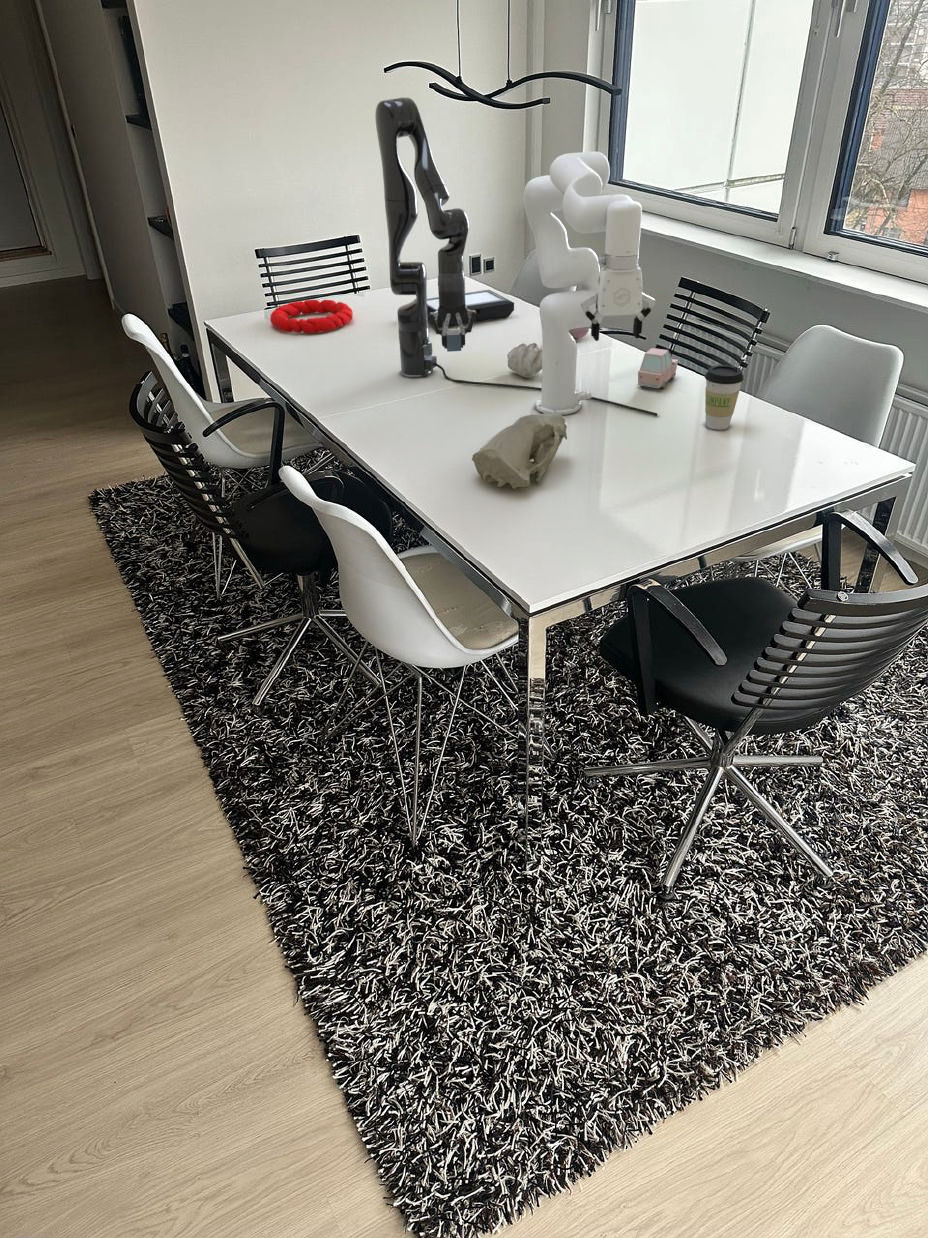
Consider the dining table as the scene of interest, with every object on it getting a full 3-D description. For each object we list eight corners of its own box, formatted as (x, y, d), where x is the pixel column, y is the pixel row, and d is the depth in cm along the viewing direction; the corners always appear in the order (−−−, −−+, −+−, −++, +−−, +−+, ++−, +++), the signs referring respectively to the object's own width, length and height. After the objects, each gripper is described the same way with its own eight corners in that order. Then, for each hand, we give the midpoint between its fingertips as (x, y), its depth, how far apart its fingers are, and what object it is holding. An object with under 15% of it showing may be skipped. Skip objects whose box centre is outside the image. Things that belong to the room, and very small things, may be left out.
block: (446, 346, 262) (445, 330, 259) (459, 345, 262) (459, 329, 259) (447, 351, 258) (446, 335, 255) (461, 350, 258) (460, 334, 255)
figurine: (575, 330, 312) (576, 295, 305) (594, 339, 304) (596, 302, 297) (554, 335, 308) (555, 299, 301) (572, 343, 300) (574, 307, 293)
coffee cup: (691, 421, 242) (698, 367, 233) (722, 415, 245) (730, 362, 236) (712, 434, 234) (719, 379, 226) (743, 428, 237) (752, 373, 228)
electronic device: (433, 312, 313) (412, 299, 328) (434, 330, 317) (413, 316, 332) (514, 300, 323) (490, 287, 338) (514, 317, 327) (490, 304, 342)
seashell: (522, 385, 268) (523, 352, 263) (503, 370, 280) (503, 338, 274) (553, 380, 271) (554, 348, 266) (533, 365, 283) (533, 334, 277)
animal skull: (489, 499, 227) (452, 459, 211) (541, 418, 229) (509, 372, 213) (540, 522, 217) (505, 481, 201) (594, 437, 219) (564, 390, 203)
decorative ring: (264, 303, 335) (273, 317, 310) (343, 294, 342) (358, 307, 317) (267, 323, 338) (277, 338, 313) (345, 314, 345) (360, 328, 320)
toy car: (680, 376, 271) (684, 343, 265) (662, 392, 260) (666, 358, 255) (651, 371, 275) (654, 339, 269) (632, 387, 264) (635, 354, 259)
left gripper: (427, 291, 246) (430, 353, 256) (478, 288, 247) (479, 350, 257) (425, 284, 252) (428, 344, 262) (475, 281, 253) (476, 341, 263)
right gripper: (586, 267, 196) (583, 345, 206) (663, 263, 197) (656, 340, 207) (579, 259, 202) (576, 335, 212) (654, 255, 204) (647, 330, 213)
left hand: (453, 346), depth 259 cm, fingers closed on block, 4 cm apart
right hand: (615, 337), depth 210 cm, fingers open, 9 cm apart
